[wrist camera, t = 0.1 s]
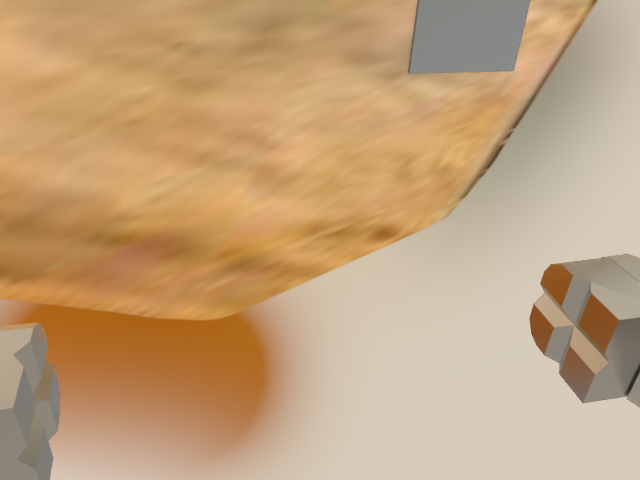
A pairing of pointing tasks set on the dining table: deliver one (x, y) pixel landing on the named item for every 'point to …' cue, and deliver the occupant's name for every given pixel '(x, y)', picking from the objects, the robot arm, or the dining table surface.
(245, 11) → the dining table surface
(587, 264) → the robot arm
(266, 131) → the dining table surface
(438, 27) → the slate pad
